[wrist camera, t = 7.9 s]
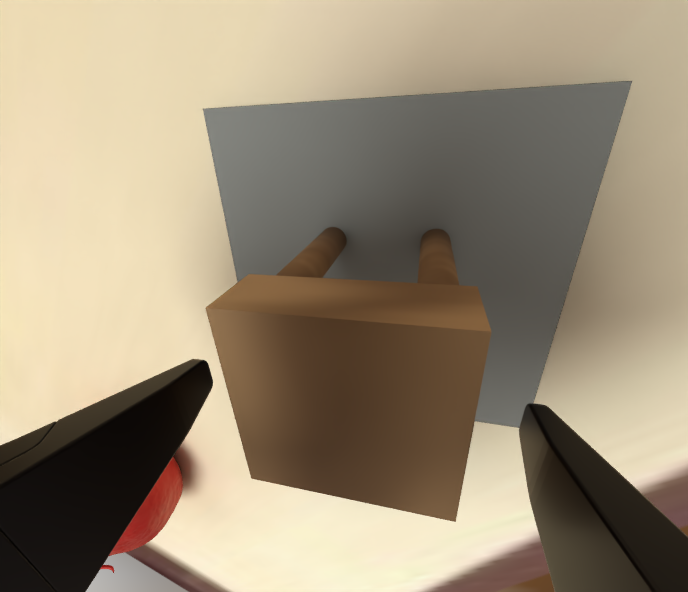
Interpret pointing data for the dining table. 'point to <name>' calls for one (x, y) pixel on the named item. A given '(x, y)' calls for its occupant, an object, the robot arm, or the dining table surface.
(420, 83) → the dining table surface
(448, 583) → the dining table surface
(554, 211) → the mat
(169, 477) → the pomegranate
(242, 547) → the dining table surface
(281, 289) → the stool
